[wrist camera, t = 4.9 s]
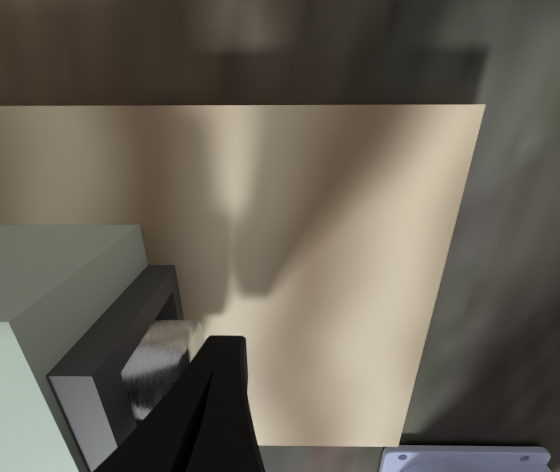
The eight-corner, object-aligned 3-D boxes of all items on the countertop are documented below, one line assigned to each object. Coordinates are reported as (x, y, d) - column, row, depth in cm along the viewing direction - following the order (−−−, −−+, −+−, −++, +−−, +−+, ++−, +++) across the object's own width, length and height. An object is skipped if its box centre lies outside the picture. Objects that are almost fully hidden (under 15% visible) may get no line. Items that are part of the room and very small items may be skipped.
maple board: (456, 106, 10) (485, 104, 8) (388, 418, 16) (398, 446, 14) (-171, 108, 10) (-246, 106, 8) (3, 414, 16) (-23, 442, 15)
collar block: (168, 224, 10) (61, 322, 5) (196, 393, 13) (147, 547, 8) (-85, 224, 10) (-415, 319, 5) (5, 391, 13) (-148, 543, 8)
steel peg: (199, 302, 10) (167, 371, 7) (207, 364, 11) (183, 444, 9) (-46, 301, 10) (-168, 369, 7) (-13, 362, 11) (-107, 440, 9)
